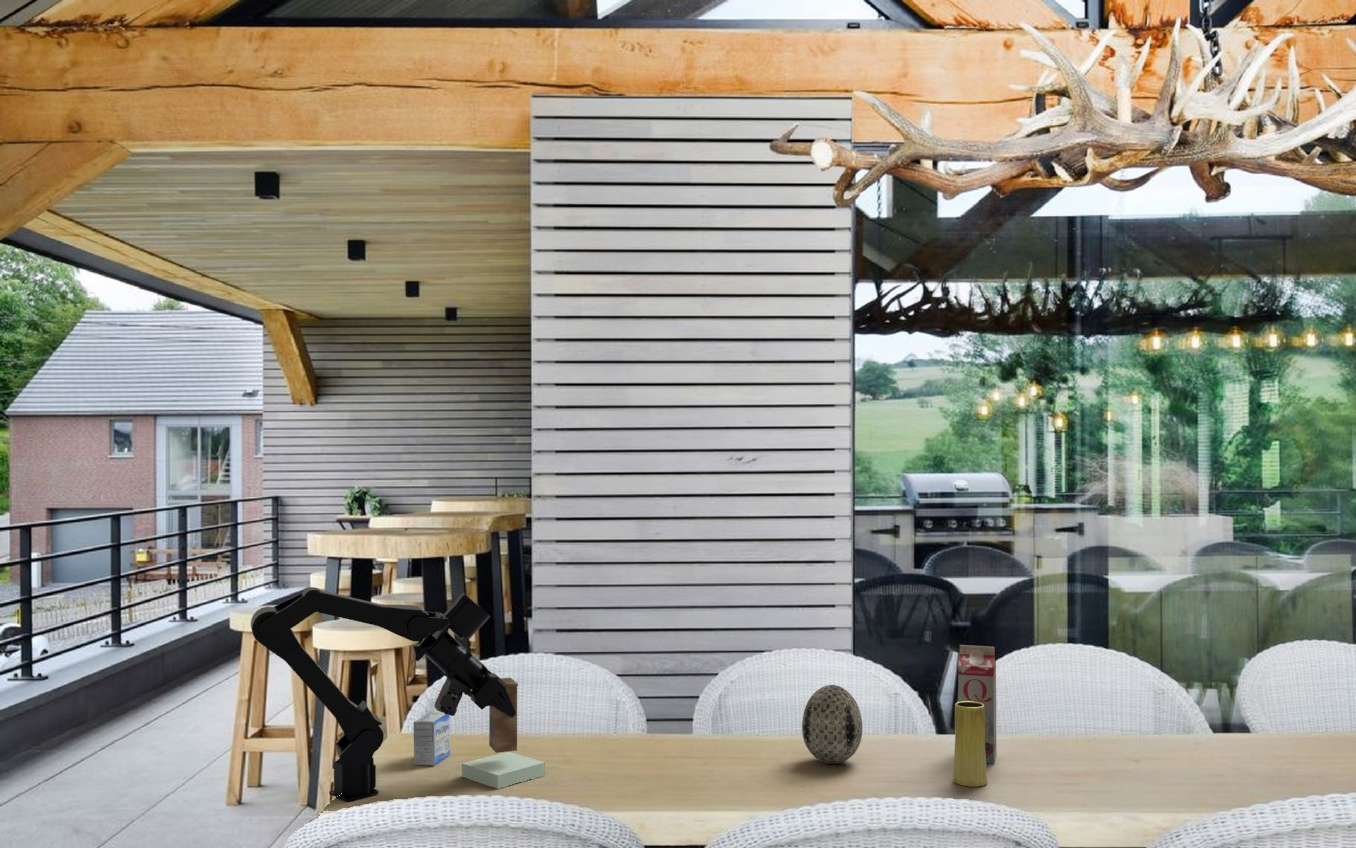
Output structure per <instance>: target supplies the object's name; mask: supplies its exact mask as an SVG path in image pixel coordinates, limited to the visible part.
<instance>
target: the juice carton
mask: <svg viewBox="0 0 1356 848" xmlns="http://www.w3.org/2000/svg"><path fill="white" fill-rule="evenodd" d="M995 652H996V651H995V646H987V645H986V646H984V645H967V644H966V645H965V644H959V656H958V663H957V666H958V667H957V671H958V672H957V674H958V675H957V676H958V679H957V680H958V681H957V682H958V683H957V684H958V687H957V691H958V692H957V694H958V696H957V697H958V701H957V702H960V701H974V702H979V703H982V704H984V722H985V754H986V764H990V765H991V764H992V765H995V762H996V760H997V759H996V757H997V662H996V657H995Z"/></svg>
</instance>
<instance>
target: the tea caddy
mask: <svg viewBox="0 0 1356 848" xmlns="http://www.w3.org/2000/svg"><path fill="white" fill-rule="evenodd" d="M499 678H500V679H502V680H503V681H504V682H505V683H506V684H505V688H506V690H507V693H508V695H509V698H510V700H511V703H512V705H513V707H514V710H515V712H516V714H515V715H514V717H510V716H508V715H506V714H505V713H503V712H501V711H500V710H498V709H496V708H494V707H492V706H488V710H489V711H488V714H489V715H488V717H489V718H488V719H489V721H488V724H489V725H488V727H489V728H488V729H489V730H488V732H489V733H488V734H489V735H488V736H489V738H488V740H489V741H488V746H489V747H490V748H491V749H492V750H493V751H494V752H495V753H496V754H500V753H505V752H516V751H518V686H519V684H518V683H517V682H516V681H515V680H514V679H513V678H512V677H499Z"/></svg>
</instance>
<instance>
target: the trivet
mask: <svg viewBox="0 0 1356 848" xmlns="http://www.w3.org/2000/svg"><path fill="white" fill-rule="evenodd" d="M545 776H546V761H545V762H544V761H541V760H538V759H535V758H531V757H528V756H524V755H522V754H519V753H515V752H513V751H509V752H500V753H496V754H494V755H490V756H485V757H482V758H478V759H475V760H474V759H473V760H470V761H466V762H462V763H461V777H462V778H465V779H468V780H470V781H473V782H476V783H479V784H482V785H485V786H488V787H490V788H493V787H494V789H496V790H500V789H502V788H501V787H503V788H506V787H510V786H509V785H511V786H513V785H512V784H514V785H516V784H515V783H517V782H521V783H524V781H525V782H528V781H530V780H529V779H532V780H535V779H538V778H537V777H539V778H542V777H545ZM527 780H528V781H527Z"/></svg>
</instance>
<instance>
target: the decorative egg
mask: <svg viewBox="0 0 1356 848" xmlns="http://www.w3.org/2000/svg"><path fill="white" fill-rule="evenodd" d="M863 731H864V730H863V719H862V713H861V711H860V708H859V705H858V703H857V701H856V700H855V698H854V696H853V695H852V694H851V693H850V692H849V691H848V690H847V689H845V688H844V687H842V686H839V685H836V684H827V685H824V686H821V687H820V688H819V689H817V690H816V691H815V692H814V693H813V694H812V695H811V697H809V699H808V701H807V703H806V705H805V708H804V711H803V715H802V722H801V733H802V738H803V741H804V745H805V747H806V748H807V750H808V751H809V753H810V754H811V755H812V756H813V757H815V759H817V760H819V761H820V762H822V763H824V764H825V763H826V764H830V765H836V764H842V763H843V762H846V761H848V760H849V759H850V758H851V757H852V756H854V755H855V754H856V752H857V750H858V749H859V747H860V744H861V741H862V737H863Z"/></svg>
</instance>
